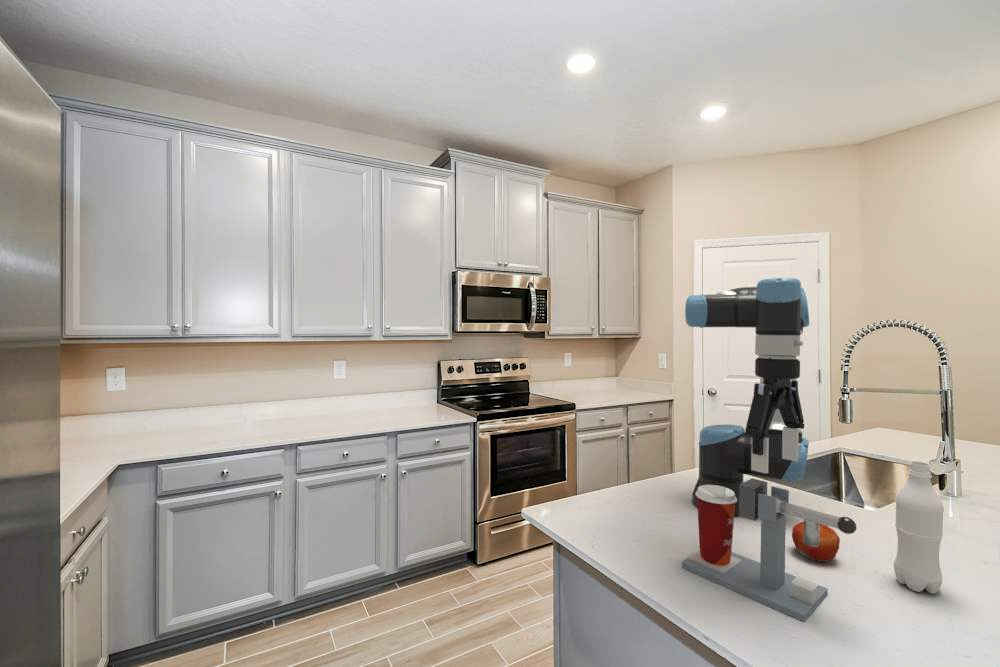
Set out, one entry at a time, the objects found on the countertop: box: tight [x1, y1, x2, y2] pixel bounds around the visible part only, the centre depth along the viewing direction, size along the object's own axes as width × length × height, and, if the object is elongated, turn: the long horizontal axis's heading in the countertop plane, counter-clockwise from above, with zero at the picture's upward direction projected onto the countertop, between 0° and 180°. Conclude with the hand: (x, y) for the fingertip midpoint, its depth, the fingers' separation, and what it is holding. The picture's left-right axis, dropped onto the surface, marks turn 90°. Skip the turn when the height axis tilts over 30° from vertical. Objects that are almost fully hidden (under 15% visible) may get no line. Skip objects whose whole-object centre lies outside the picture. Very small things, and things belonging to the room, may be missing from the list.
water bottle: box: [893, 460, 945, 595], centre depth 91 cm, size 7×7×25 cm
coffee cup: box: [695, 485, 737, 565], centre depth 99 cm, size 8×8×15 cm
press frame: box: [681, 485, 829, 623], centre depth 93 cm, size 23×13×20 cm, turn 39°
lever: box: [738, 477, 857, 547], centre depth 87 cm, size 18×6×9 cm, turn 39°
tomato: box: [791, 521, 841, 562], centre depth 103 cm, size 9×9×8 cm
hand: (775, 465), depth 89 cm, fingers open, 13 cm apart
